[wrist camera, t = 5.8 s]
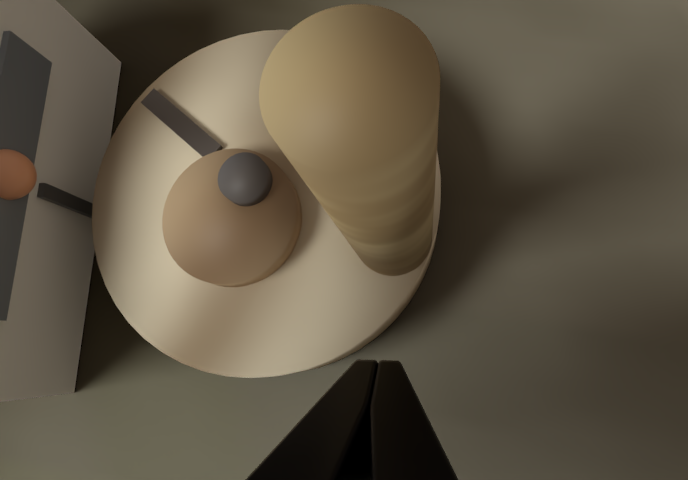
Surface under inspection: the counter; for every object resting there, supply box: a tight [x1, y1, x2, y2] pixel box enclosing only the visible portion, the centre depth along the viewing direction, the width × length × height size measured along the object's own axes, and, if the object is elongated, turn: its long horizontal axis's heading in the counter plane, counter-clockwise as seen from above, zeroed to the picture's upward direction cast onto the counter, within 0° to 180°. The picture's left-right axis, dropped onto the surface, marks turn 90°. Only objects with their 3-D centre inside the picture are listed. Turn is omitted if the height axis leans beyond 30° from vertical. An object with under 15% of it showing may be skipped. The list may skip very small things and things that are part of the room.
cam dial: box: [92, 4, 441, 378], centre depth 13 cm, size 12×12×12 cm
